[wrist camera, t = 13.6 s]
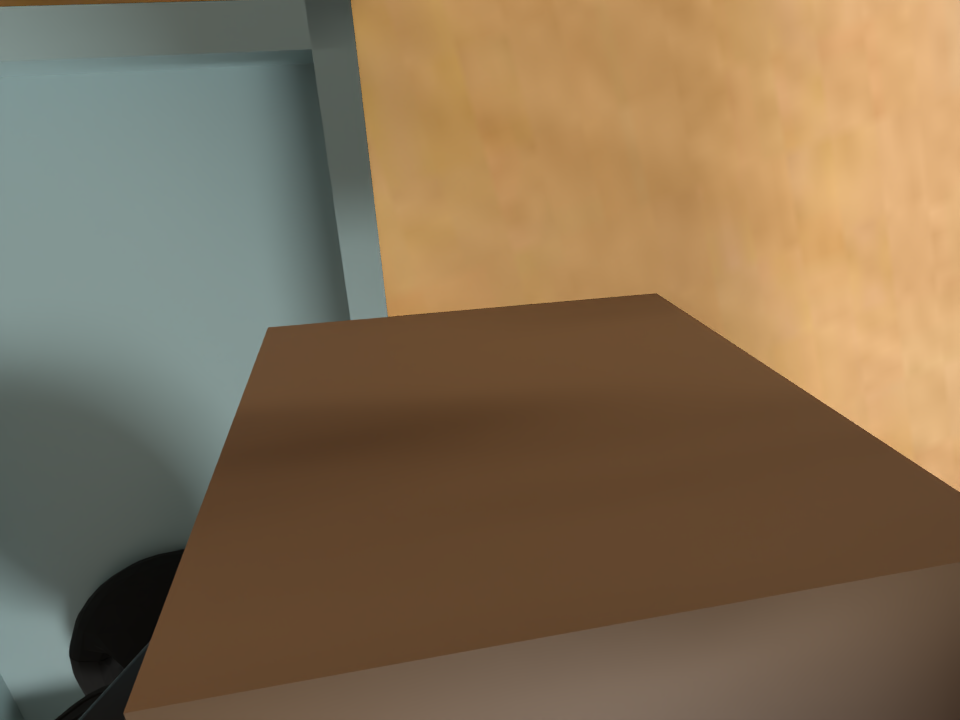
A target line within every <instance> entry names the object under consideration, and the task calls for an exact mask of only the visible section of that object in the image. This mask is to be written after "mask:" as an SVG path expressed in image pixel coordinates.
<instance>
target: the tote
mask: <svg viewBox="0 0 960 720" xmlns="http://www.w3.org/2000/svg"><path fill="white" fill-rule="evenodd" d="M381 317H388V315H387V306H386V298H385V289H384V281H383V272H382V264H381V255H380V247H379V238H378V230H377V221H376V213H375V204H374V195H373V187H372V178H371V170H370V161H369V153H368V144H367V136H366V127H365V119H364V110H363V102H362V93H361V84H360V76H359V67H358V59H357V50H356V42H355V33H354V25H353V16H352V8H351V0H229V1H192V2H156V3H119V4H82V5H46V6H9V7H0V720H55V719H56V718H57V717H58V716H60V715H61V714H62V713H63V712H64V711H66V710H67V709H68V708H69V707H70V706H72V705H73V704H75V703H76V702H77V701H79V700H80V699H82V698H83V697H85V694H84V693H83V691H82V689H81V688H80V686H79V684H78V682H77V680H76V678H75V676H74V674H73V671H72V666H71V662H70V658H69V646H70V641H71V637H72V633H73V629H74V625H75V621H76V618H77V616H78V614H79V612H80V611H81V609H82V608H83V606H84V605H85V603H86V601H87V600H88V598H89V597H90V596H91V595H92V594H93V593H94V592H95V591H96V590H97V589H98V587H99V586H100V585H102V584H103V583H104V582H105V581H107V580H108V579H109V578H110V577H112V576H113V575H115V574H116V573H118V572H120V571H121V570H123V569H125V568H126V567H128V566H130V565H132V564H134V563H136V562H138V561H140V560H142V559H145V558H148V557H151V556H154V555H157V554H162V553H167V552H172V551H177V550H181V549H185V547H186V545H187V542H188V539H189V537H190V534H191V531H192V529H193V526H194V523H195V521H196V518H197V515H198V513H199V510H200V507H201V505H202V502H203V499H204V497H205V494H206V491H207V489H208V486H209V483H210V481H211V478H212V475H213V473H214V470H215V467H216V465H217V462H218V459H219V457H220V454H221V451H222V449H223V446H224V443H225V441H226V438H227V435H228V433H229V430H230V427H231V425H232V422H233V419H234V417H235V414H236V411H237V409H238V406H239V403H240V401H241V398H242V395H243V393H244V390H245V387H246V385H247V382H248V379H249V377H250V374H251V371H252V369H253V366H254V363H255V361H256V358H257V355H258V353H259V350H260V347H261V345H262V342H263V339H264V337H265V334H266V331H267V329H268V327H278V326H290V325H301V324H312V323H324V322H335V321H347V320H358V319H370V318H381Z"/></svg>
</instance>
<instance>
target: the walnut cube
mask: <svg viewBox="0 0 960 720" xmlns="http://www.w3.org/2000/svg"><path fill="white" fill-rule="evenodd" d="M123 714H124V717H125V719H126V720H960V492H958V491H957V490H955V489H954V488H952V487H951V486H949V485H948V484H946V483H945V482H943V481H942V480H940V479H938V478H937V477H935V476H934V475H932V474H931V473H929V472H928V471H926V470H925V469H923V468H922V467H920V466H919V465H917V464H916V463H914V462H913V461H911V460H910V459H908V458H906V457H905V456H903V455H902V454H900V453H899V452H897V451H896V450H894V449H893V448H891V447H890V446H888V445H887V444H885V443H884V442H882V441H881V440H879V439H878V438H876V437H874V436H873V435H871V434H870V433H868V432H867V431H865V430H864V429H862V428H861V427H859V426H858V425H856V424H855V423H853V422H852V421H850V420H849V419H847V418H846V417H844V416H842V415H841V414H839V413H838V412H836V411H835V410H833V409H832V408H830V407H829V406H827V405H826V404H824V403H823V402H821V401H820V400H818V399H817V398H815V397H814V396H812V395H810V394H809V393H807V392H806V391H804V390H803V389H801V388H800V387H798V386H797V385H795V384H794V383H792V382H791V381H789V380H788V379H786V378H785V377H783V376H782V375H780V374H778V373H777V372H775V371H774V370H772V369H771V368H769V367H768V366H766V365H765V364H763V363H762V362H760V361H759V360H757V359H756V358H754V357H753V356H751V355H749V354H748V353H746V352H745V351H743V350H742V349H740V348H739V347H737V346H736V345H734V344H733V343H731V342H730V341H728V340H727V339H725V338H724V337H722V336H721V335H719V334H717V333H716V332H714V331H713V330H711V329H710V328H708V327H707V326H705V325H704V324H702V323H701V322H699V321H698V320H696V319H695V318H693V317H692V316H690V315H689V314H687V313H685V312H684V311H682V310H681V309H679V308H678V307H676V306H675V305H673V304H672V303H670V302H669V301H667V300H666V299H664V298H663V297H661V296H660V295H658V294H657V293H656V294H644V295H633V296H622V297H610V298H599V299H587V300H576V301H564V302H553V303H541V304H530V305H519V306H507V307H496V308H484V309H473V310H461V311H450V312H438V313H427V314H416V315H404V316H393V317H381V318H370V319H358V320H347V321H335V322H324V323H312V324H301V325H290V326H278V327H268V329H267V331H266V334H265V337H264V339H263V342H262V345H261V347H260V350H259V353H258V355H257V358H256V361H255V363H254V366H253V369H252V371H251V374H250V377H249V379H248V382H247V385H246V387H245V390H244V393H243V395H242V398H241V401H240V403H239V406H238V409H237V411H236V414H235V417H234V419H233V422H232V425H231V427H230V430H229V433H228V435H227V438H226V441H225V443H224V446H223V449H222V451H221V454H220V457H219V459H218V462H217V465H216V467H215V470H214V473H213V475H212V478H211V481H210V483H209V486H208V489H207V491H206V494H205V497H204V499H203V502H202V505H201V507H200V510H199V513H198V515H197V518H196V521H195V523H194V526H193V529H192V531H191V534H190V537H189V539H188V542H187V545H186V547H185V550H184V553H183V555H182V558H181V561H180V563H179V566H178V569H177V571H176V574H175V577H174V579H173V582H172V585H171V587H170V590H169V593H168V595H167V598H166V601H165V603H164V606H163V609H162V611H161V614H160V617H159V619H158V622H157V625H156V627H155V630H154V633H153V635H152V638H151V641H150V643H149V646H148V649H147V651H146V654H145V657H144V659H143V662H142V665H141V667H140V670H139V673H138V675H137V678H136V681H135V683H134V686H133V689H132V691H131V694H130V697H129V699H128V702H127V705H126V707H125V710H124V713H123Z"/></svg>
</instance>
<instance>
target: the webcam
mask: <svg viewBox="0 0 960 720" xmlns="http://www.w3.org/2000/svg"><path fill="white" fill-rule="evenodd" d="M184 550H185V549H181V550H177V551H172V552H167V553H162V554H157V555H154V556H151V557H148V558H145V559H142V560H140V561H138V562H136V563H134V564H132V565H130V566H128V567H126V568H125V569H123V570H121V571H120V572H118V573H116V574H115V575H113V576H112V577H110V578H109V579H108V580H107V581H105V582H104V583H103V584H102V585H100V586H99V587H98V589H97V590H96V591H95V592H94V593H93V594H92V595H91V596H90V597H89V598H88V600H87V601H86V603H85V605H84V606H83V608H82V609H81V611H80V612H79V614H78V616H77V618H76V621H75V625H74V629H73V633H72V637H71V641H70V646H69V658H70V662H71V666H72V671H73V674H74V676H75V678H76V680H77V682H78V684H79V686H80V688H81V689H82V691H83V693H84V694H85V697H83V698H82V699H80V700H79V701H77V702H76V703H75V704H73V705H72V706H70V707H69V708H68V709H67V710H66V711H64V712H63V713H62V714H61V715H60V716H58V717H57V718H56V719H55V720H79V718H80V717H81V716H82V715H83V714H84V713H85V712H86V711H87V710H88V709H89V707H90V706H91V705H92V704H93V703H94V702H95V701H96V700H97V699H98V698H99V696H100V695H101V694H102V693H103V692H104V691H105V690H106V689H107V688H108V687H109V685H110V684H111V683H112V682H113V681H114V680H115V679H116V678H117V677H118V676H119V674H120V673H121V672H122V671H123V670H124V669H125V668H126V667H127V666H128V665H129V663H130V662H131V661H132V660H133V659H134V658H135V657H136V656H137V655H138V654H139V653H140V651H141V650H142V649H143V648H144V647H145V646H146V645H147V644H148V643H149V642H150V640H151V638H152V635H153V633H154V630H155V627H156V625H157V622H158V619H159V617H160V614H161V611H162V609H163V606H164V603H165V601H166V598H167V595H168V593H169V590H170V587H171V585H172V582H173V579H174V577H175V574H176V571H177V569H178V566H179V563H180V561H181V558H182V555H183V553H184Z"/></svg>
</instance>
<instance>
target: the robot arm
mask: <svg viewBox="0 0 960 720" xmlns="http://www.w3.org/2000/svg"><path fill="white" fill-rule="evenodd" d="M150 641H151V640H150ZM149 643H150V642H149ZM149 643H148V644H147V645H146V646H145V647H144V648H143V649H142V650H141V651H140V653H139V654H138V655H137V656H136V657H135V658H134V659H133V660H132V661H131V662H130V663H129V665H128V666H127V667H126V668H125V669H124V670H123V671H122V672H121V673H120V674H119V676H118V677H117V678H116V679H115V680H114V681H113V682H112V683H111V684H110V685H109V687H108V688H107V689H106V690H105V691H104V692H103V693H102V694H101V695H100V696H99V698H98V699H97V700H96V701H95V702H94V703H93V704H92V705H91V706H90V707H89V709H88V710H87V711H86V712H85V713H84V714H83V715H82V716H81V717H80V718H79V720H126V719H125V717H124V714H123V713H124V710H125V707H126V705H127V702H128V699H129V697H130V694H131V691H132V689H133V686H134V683H135V681H136V678H137V675H138V673H139V670H140V667H141V665H142V662H143V659H144V657H145V654H146V651H147V649H148V646H149Z"/></svg>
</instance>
